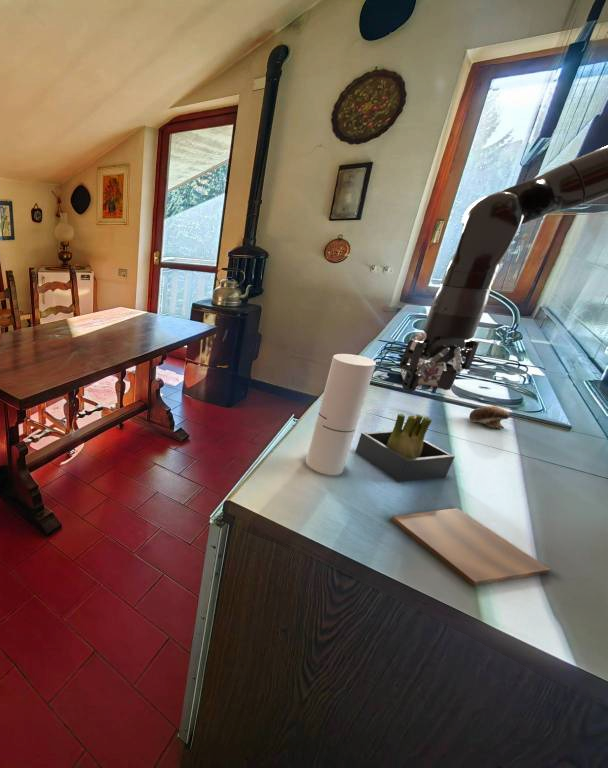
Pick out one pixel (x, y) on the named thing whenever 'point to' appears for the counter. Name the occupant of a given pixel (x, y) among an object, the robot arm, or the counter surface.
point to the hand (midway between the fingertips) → (425, 389)
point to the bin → (403, 458)
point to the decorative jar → (430, 373)
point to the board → (469, 546)
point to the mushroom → (489, 416)
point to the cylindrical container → (339, 412)
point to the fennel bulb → (409, 436)
